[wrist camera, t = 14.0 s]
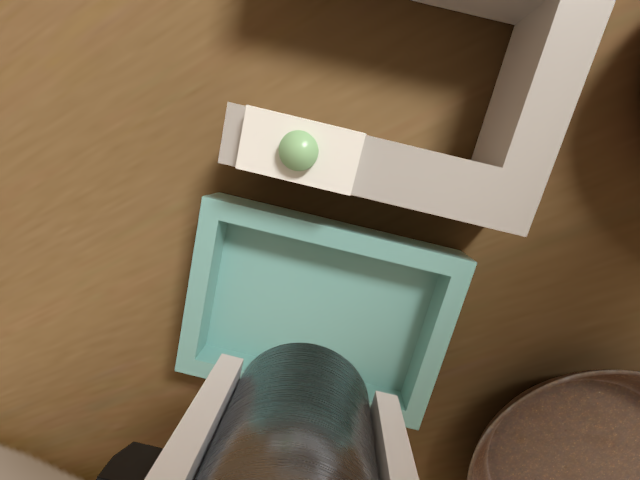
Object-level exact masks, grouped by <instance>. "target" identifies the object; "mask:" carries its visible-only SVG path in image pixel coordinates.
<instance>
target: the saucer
mask: <svg viewBox="0 0 640 480" xmlns="http://www.w3.org/2000/svg"><path fill="white" fill-rule="evenodd" d="M467 480H640V372H639V371H628V370H588V371H582V372H575V373H570V374H566V375H562V376H559V377H556V378H552V379H549V380H547V381H544V382H542V383H539V384H537V385H535V386H533V387H531V388H529V389H527V390H526V391H524V392H522V393H521V394H519V395H518V396H516V397H515V398H514V399H512V400H511V401H510V402H509V403H508V404H506V405H505V406H504V407H503V408H502V409H501V410H500V411H499V412H498V413H497V414H496V415H495V416H494V417H493V419H492V420H491V421H490V423H489V424H488V425H487V427H486V428H485V430H484V432H483V433H482V435H481V437H480V439H479V441H478V443H477V445H476V448H475V450H474V453H473V456H472V459H471V462H470V465H469V469H468V474H467Z"/></svg>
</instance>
